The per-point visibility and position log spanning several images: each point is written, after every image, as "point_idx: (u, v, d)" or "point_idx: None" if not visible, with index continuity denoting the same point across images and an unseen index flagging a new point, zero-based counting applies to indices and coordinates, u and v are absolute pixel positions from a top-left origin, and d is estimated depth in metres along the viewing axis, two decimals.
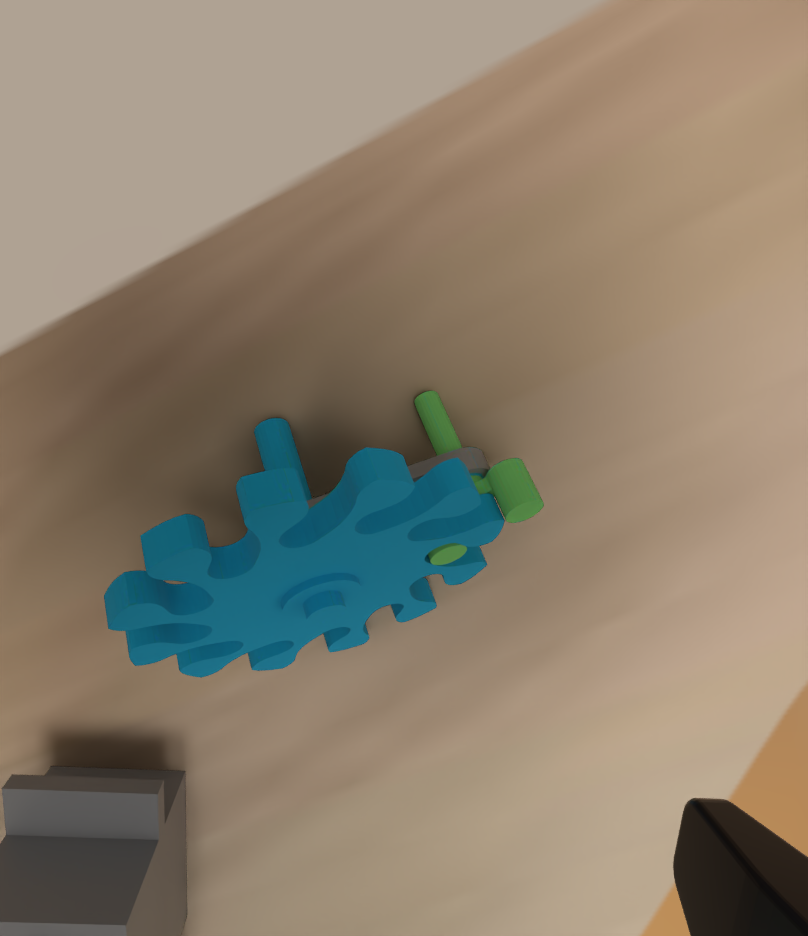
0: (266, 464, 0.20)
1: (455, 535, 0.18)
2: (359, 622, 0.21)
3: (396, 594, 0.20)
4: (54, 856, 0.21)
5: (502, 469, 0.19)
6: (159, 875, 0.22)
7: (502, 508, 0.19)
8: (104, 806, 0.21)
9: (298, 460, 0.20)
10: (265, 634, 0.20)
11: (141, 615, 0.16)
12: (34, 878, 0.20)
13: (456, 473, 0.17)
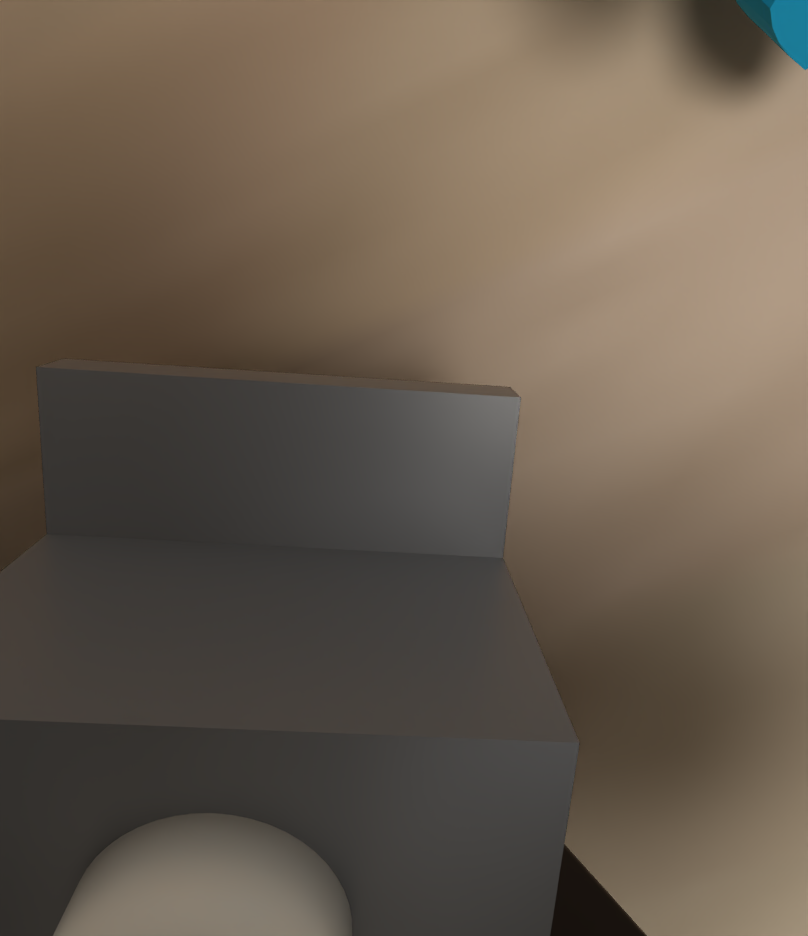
0: None
1: None
2: None
3: None
4: (207, 574, 0.06)
5: None
6: None
7: None
8: (352, 438, 0.07)
9: None
10: None
11: None
12: (157, 613, 0.06)
13: None
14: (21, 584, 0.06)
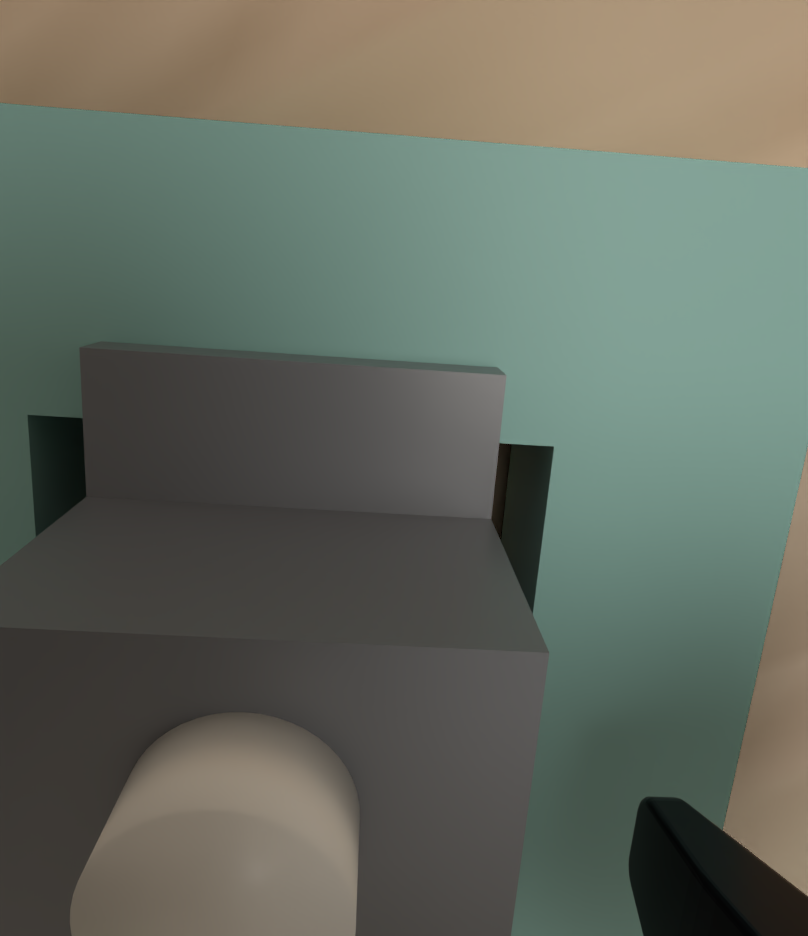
0: None
1: None
2: None
3: None
4: (231, 529, 0.07)
5: None
6: None
7: None
8: (357, 411, 0.08)
9: None
10: None
11: None
12: (191, 559, 0.07)
13: None
14: (70, 534, 0.07)
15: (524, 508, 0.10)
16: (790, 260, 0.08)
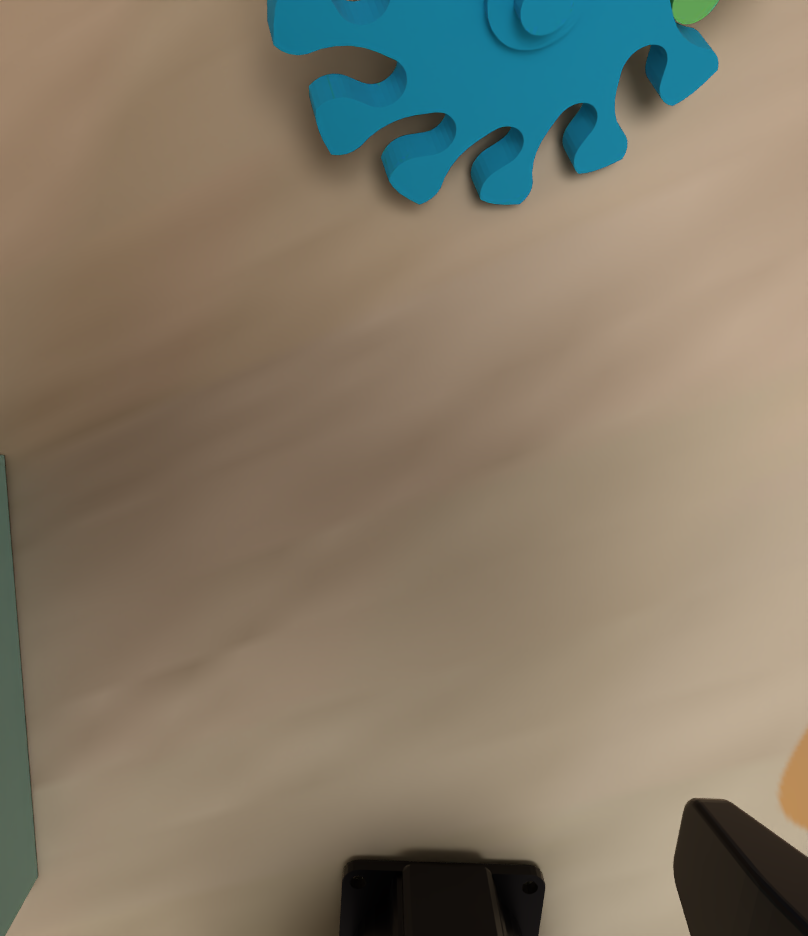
0: None
1: None
2: (539, 132, 0.16)
3: (604, 75, 0.16)
4: None
5: None
6: None
7: None
8: None
9: None
10: (437, 75, 0.15)
11: None
12: None
13: None
14: None
15: None
16: None
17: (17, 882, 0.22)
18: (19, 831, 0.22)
